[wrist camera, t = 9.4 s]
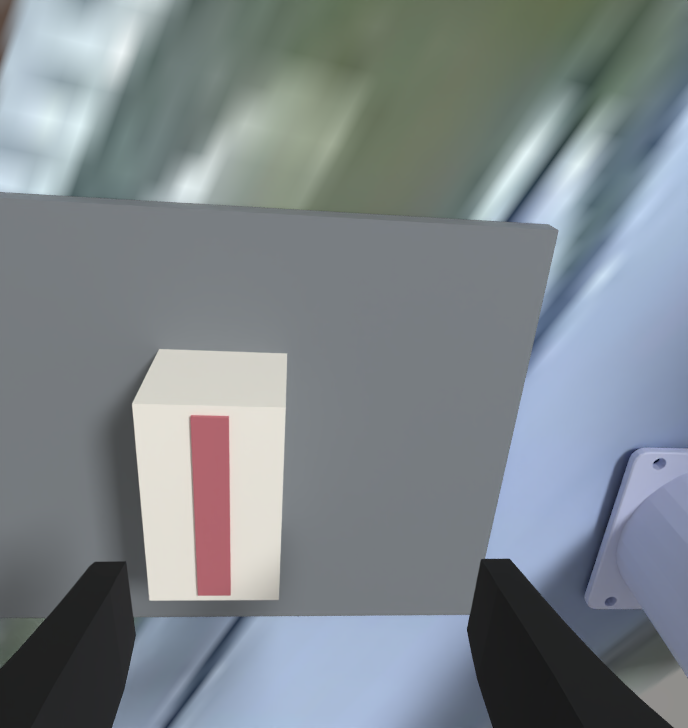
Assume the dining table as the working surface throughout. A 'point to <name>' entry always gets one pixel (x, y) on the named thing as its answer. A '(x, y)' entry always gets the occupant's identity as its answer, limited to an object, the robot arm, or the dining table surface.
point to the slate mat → (303, 388)
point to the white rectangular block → (212, 473)
